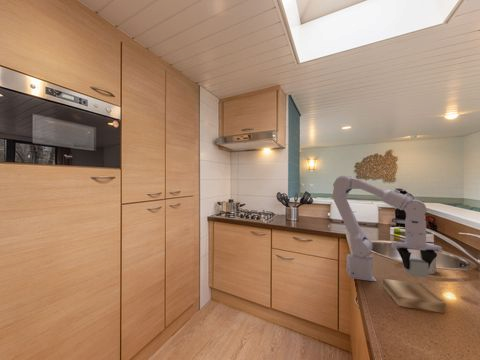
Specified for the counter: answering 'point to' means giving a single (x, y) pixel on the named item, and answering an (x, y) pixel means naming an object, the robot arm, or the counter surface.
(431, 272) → the skincare box
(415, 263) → the grey cube
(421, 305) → the oak base
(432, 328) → the counter surface
